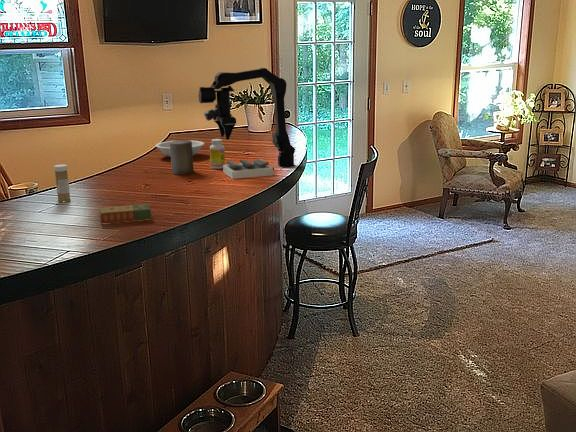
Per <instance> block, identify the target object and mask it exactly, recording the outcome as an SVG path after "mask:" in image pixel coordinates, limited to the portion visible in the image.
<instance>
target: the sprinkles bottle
mask: <svg viewBox="0 0 576 432" xmlns="http://www.w3.org/2000/svg"><path fill="white" fill-rule="evenodd" d="M53 171H54V174H55V185H56V187H55V188H56V195H57V202H58V201H59V203H64V202H63V201H68V202H70V201H71V191H70V182H69V176H68V165H67V164H56V165H53ZM69 200H70V201H69Z"/></svg>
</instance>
